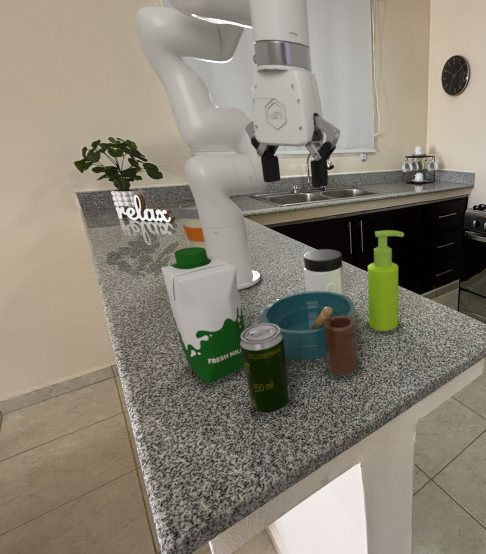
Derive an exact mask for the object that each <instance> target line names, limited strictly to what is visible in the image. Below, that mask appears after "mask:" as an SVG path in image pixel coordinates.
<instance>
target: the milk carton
mask: <svg viewBox="0 0 486 554" xmlns="http://www.w3.org/2000/svg"><path fill="white" fill-rule="evenodd" d="M174 258H175V261H176V263H172V264H170V265H167V266H162V267H161V268H160V269H161V272H162V276H163V280H164V284H165V288H166V291H167V297H168V300H169V305H170V308H171V311H172V315H173V319H174V322H175V326H176V329H177V333H178V338H179V341H180V344H181V348H182V351H183V354H184V356H185V358H186V360H187V363H188V364H189V367H190V369H191V370H192V371H193V372H194V373H195V374H196V375H197V376H198V377H199V378H200V379H201V380H202V381H203V382H204V383H205V385H210V384H212V383H215V382H217V381H219V380H221V379H223V378H225V377H228V376H229V375H232V374H234V373H237V372H238V371H241V370H243V369H245V368H244V363H243V358H242V353H241V347H240V341H241V333H242V332H243V331H244V330H246V326H245V321H244V315H243V310H242V305H241V299H240V294H239V293H240V292H239V290H238V288H237V276H236V268H235V267H234V266H232V265H230V264H229V263H228V262H226V261H224V260H222V259H220V258H218V257H216V256H211V257H208V256H207V254H206V250H205V248H201V247H193V246H191V247H185V248H181V249H178V250H176V251H174Z"/></svg>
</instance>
